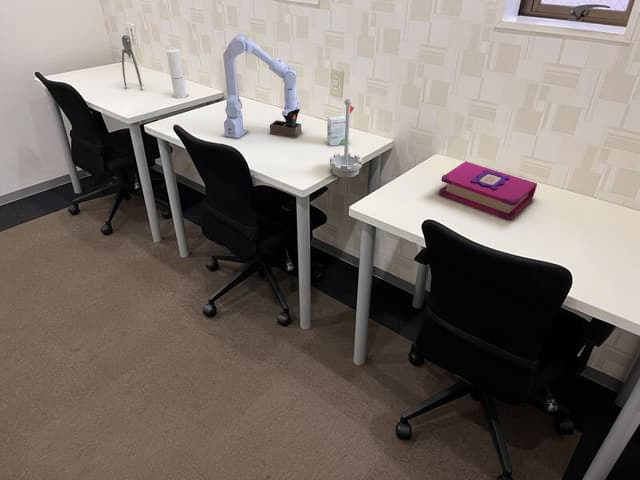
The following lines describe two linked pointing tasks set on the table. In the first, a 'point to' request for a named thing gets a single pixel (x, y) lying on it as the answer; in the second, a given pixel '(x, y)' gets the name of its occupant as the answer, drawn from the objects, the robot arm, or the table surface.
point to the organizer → (284, 129)
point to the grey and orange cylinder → (294, 122)
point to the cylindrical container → (176, 73)
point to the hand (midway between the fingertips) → (291, 125)
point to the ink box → (336, 130)
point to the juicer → (128, 50)
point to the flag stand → (346, 152)
